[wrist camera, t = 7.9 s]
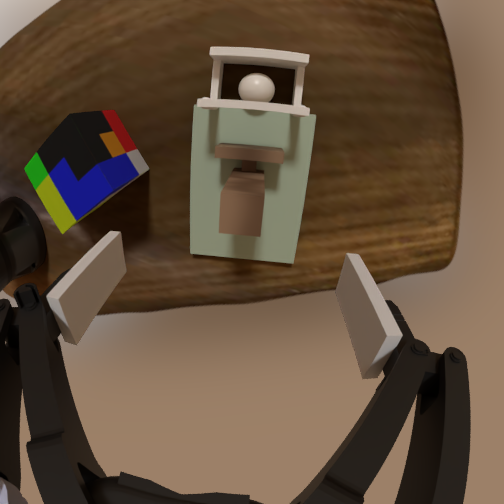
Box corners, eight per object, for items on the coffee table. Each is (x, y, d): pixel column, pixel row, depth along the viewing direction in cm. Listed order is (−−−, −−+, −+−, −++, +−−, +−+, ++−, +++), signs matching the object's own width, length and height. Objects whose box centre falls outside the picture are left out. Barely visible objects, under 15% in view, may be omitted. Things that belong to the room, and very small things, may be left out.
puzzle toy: (149, 169, 33) (113, 190, 24) (101, 205, 36) (62, 234, 27) (114, 109, 29) (69, 113, 20) (69, 152, 32) (24, 168, 23)
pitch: (192, 248, 38) (178, 278, 32) (201, 56, 26) (185, 41, 20) (292, 258, 39) (297, 290, 32) (319, 66, 26) (334, 53, 20)
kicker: (217, 194, 33) (198, 231, 23) (220, 142, 30) (200, 156, 20) (275, 199, 33) (281, 239, 23) (281, 148, 30) (291, 164, 20)
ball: (240, 65, 25) (240, 88, 29) (235, 87, 24) (236, 111, 28) (277, 68, 25) (273, 91, 29) (275, 91, 24) (272, 114, 28)
